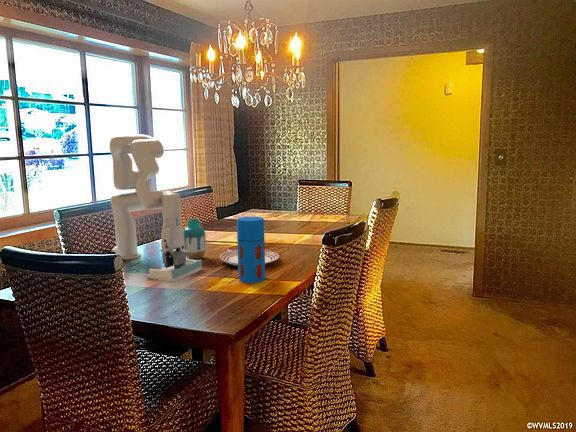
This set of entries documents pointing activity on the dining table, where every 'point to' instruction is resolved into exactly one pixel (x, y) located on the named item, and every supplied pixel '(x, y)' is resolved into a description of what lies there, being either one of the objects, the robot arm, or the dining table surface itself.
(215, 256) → the dining table surface
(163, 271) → the loading dock
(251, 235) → the thermos
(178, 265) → the lidded gray box
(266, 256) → the dinner plate
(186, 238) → the vase
